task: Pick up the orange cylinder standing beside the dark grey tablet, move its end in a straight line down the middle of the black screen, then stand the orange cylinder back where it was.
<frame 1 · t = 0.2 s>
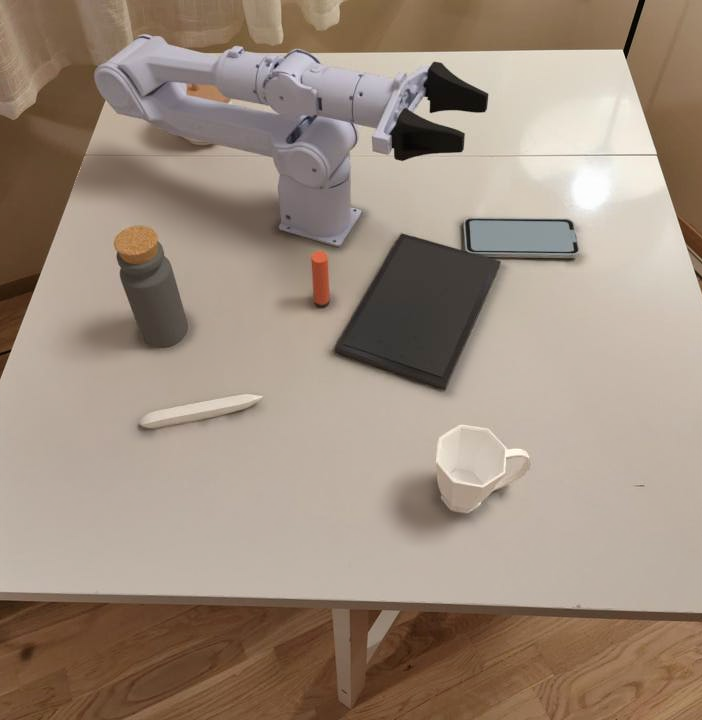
hand: (475, 122, 77), 21 cm above the table, tool horizontal, fingers open, 7 cm apart
trinket box: (205, 135, 114), on the table
cup: (474, 492, 73), on the table
pen: (203, 415, 80), on the table
orange cylinder: (321, 302, 90), on the table
bottle: (165, 331, 88), on the table
tablet: (421, 308, 89), on the table
smartphone: (519, 241, 97), on the table
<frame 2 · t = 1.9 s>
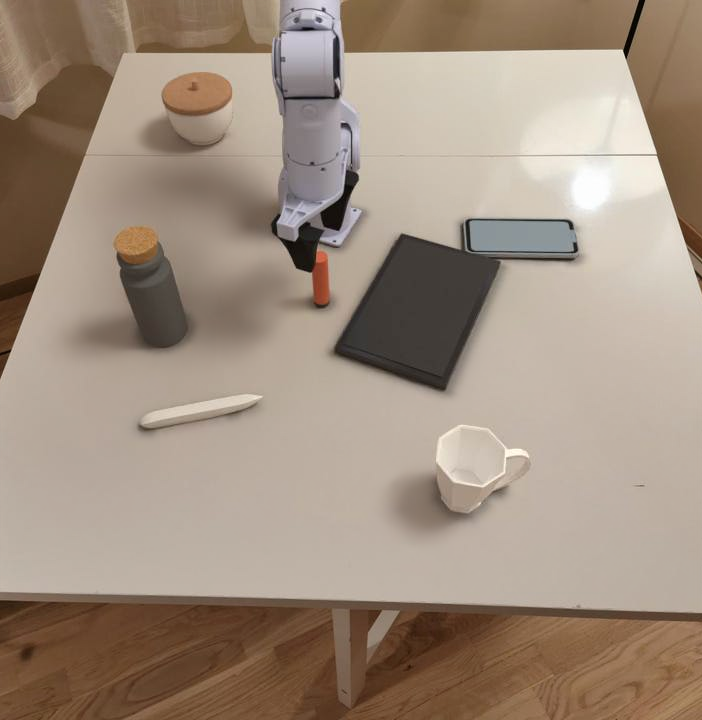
hand: (318, 247, 83), 9 cm above the table, tool pointing down, fingers open, 7 cm apart
nothing on the table moved.
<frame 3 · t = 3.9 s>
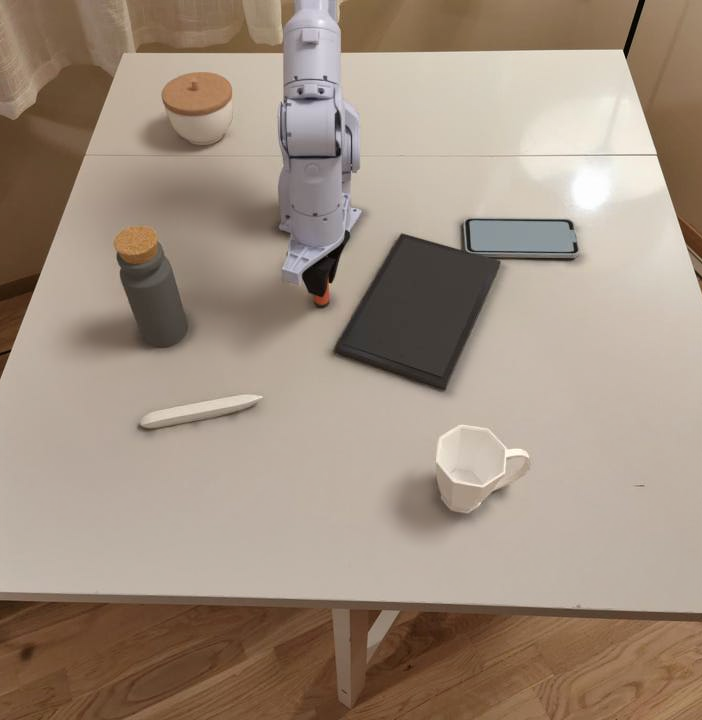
hand: (321, 286, 88), 3 cm above the table, tool pointing down, fingers closed on orange cylinder, 2 cm apart
orange cylinder: (321, 302, 90), on the table, touching gripper
everything else where it was.
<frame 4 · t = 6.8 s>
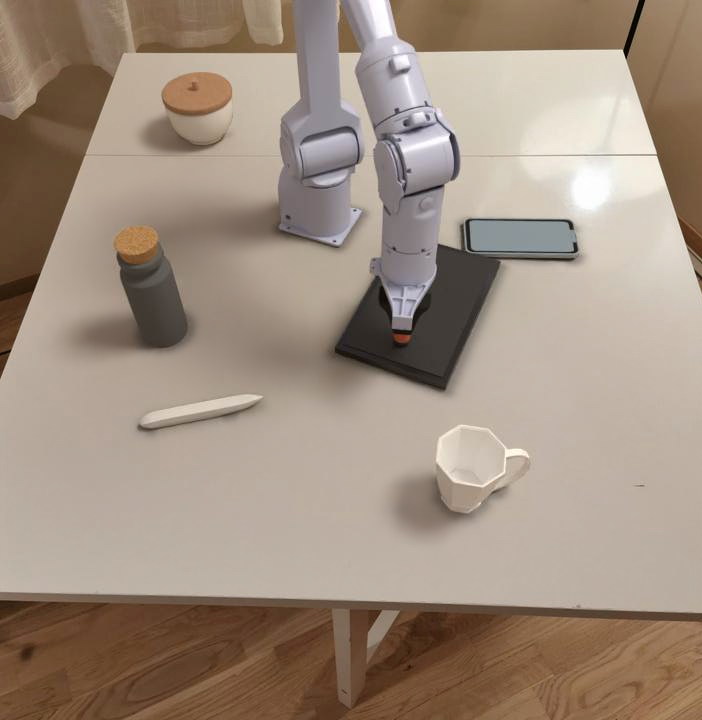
hand: (403, 323, 82), 4 cm above the table, tool pointing down, fingers closed on orange cylinder, 2 cm apart
orange cylinder: (401, 340, 84), point 2 cm above the table, touching gripper
everything else where it was.
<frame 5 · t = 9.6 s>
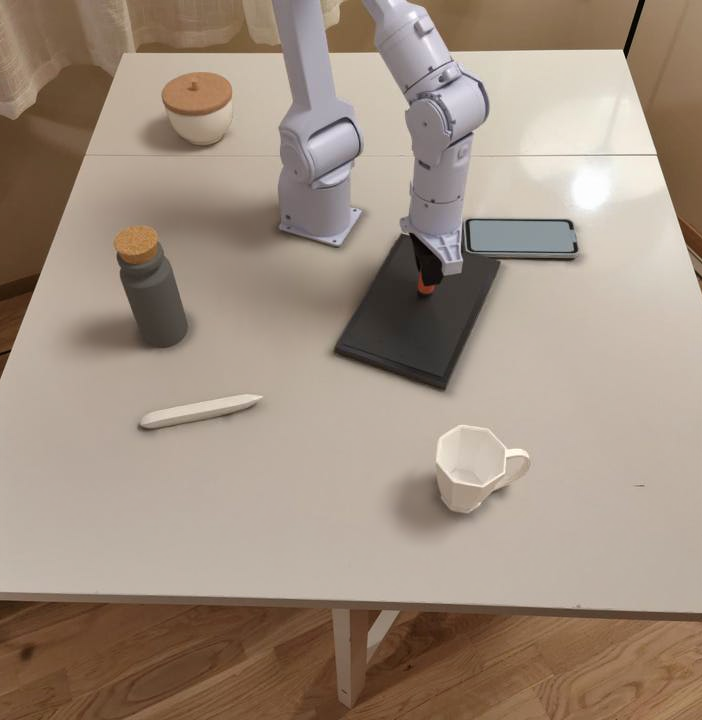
hand: (428, 276, 87), 4 cm above the table, tool pointing down, fingers closed on orange cylinder, 2 cm apart
orange cylinder: (425, 291, 89), point 1 cm above the table, touching gripper
everything else where it was.
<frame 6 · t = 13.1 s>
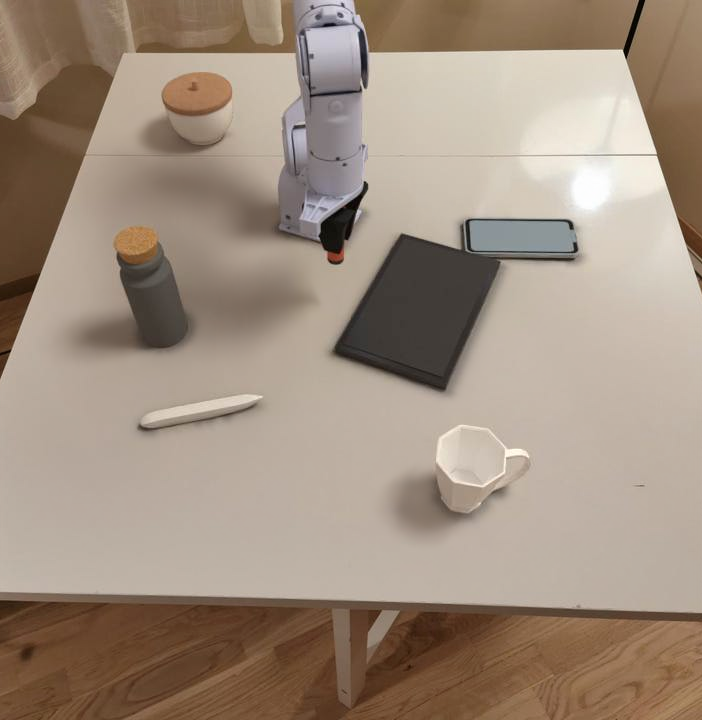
hand: (336, 243, 83), 9 cm above the table, tool pointing down, fingers closed on orange cylinder
orange cylinder: (335, 259, 85), point 7 cm above the table, touching gripper
everything else where it was.
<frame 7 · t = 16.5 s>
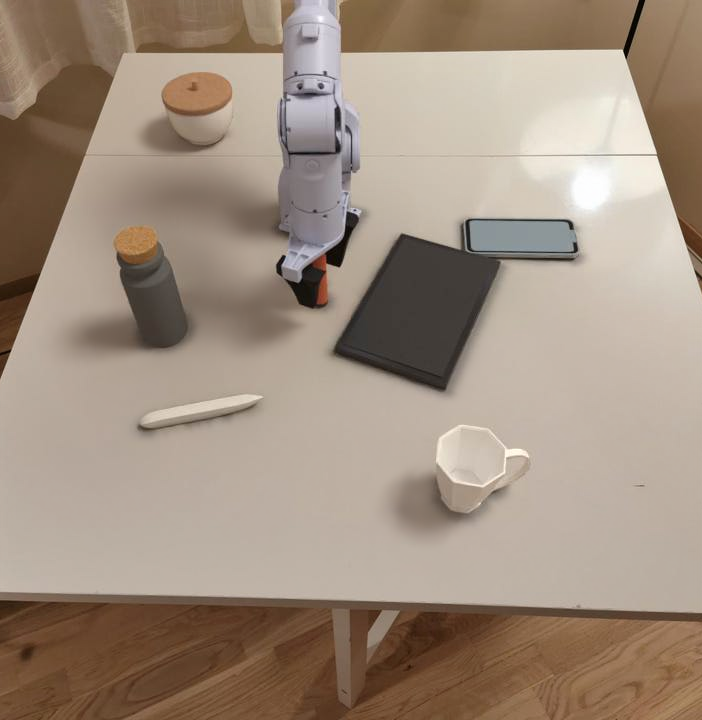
hand: (320, 283, 88), 3 cm above the table, tool pointing down, fingers open, 7 cm apart
orange cylinder: (320, 302, 90), on the table
everything else where it was.
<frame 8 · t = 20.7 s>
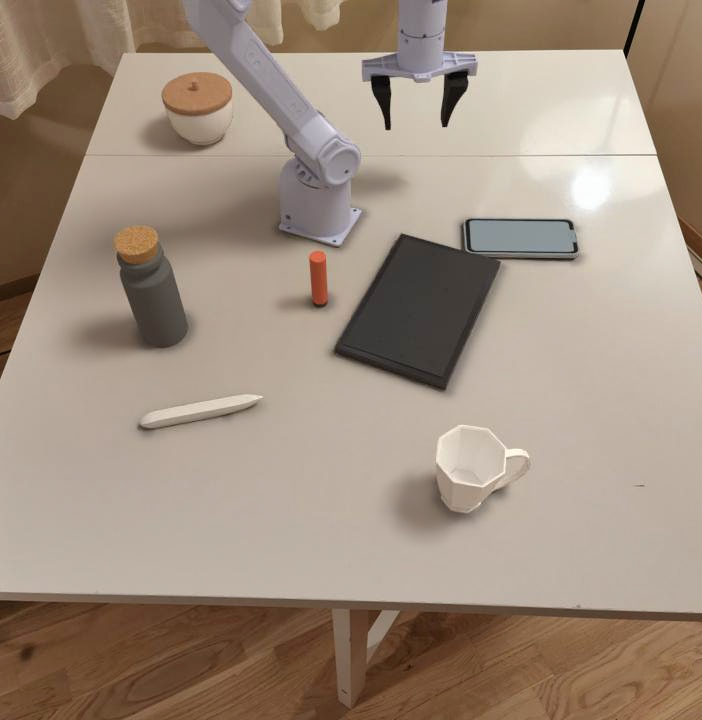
hand: (415, 124, 96), 10 cm above the table, tool pointing down, fingers open, 7 cm apart
nothing on the table moved.
at the end: orange cylinder 0.2 cm from the target spot, on the table; orange cylinder tilted 0°; the gripper is holding nothing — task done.
